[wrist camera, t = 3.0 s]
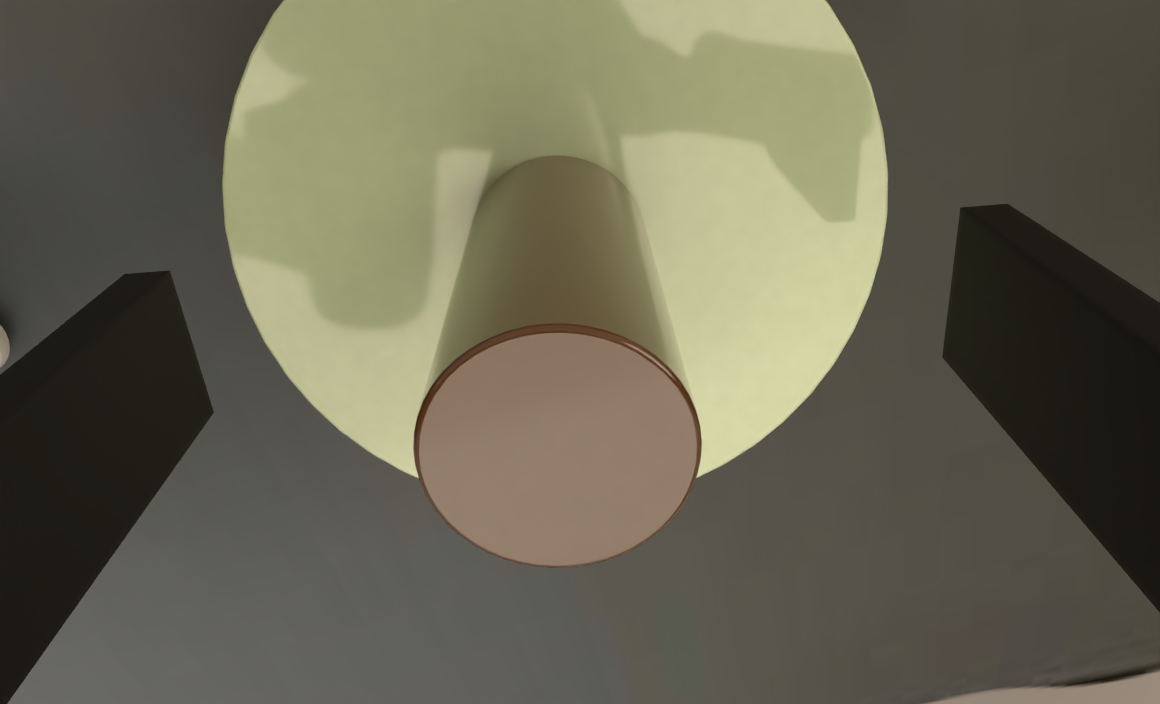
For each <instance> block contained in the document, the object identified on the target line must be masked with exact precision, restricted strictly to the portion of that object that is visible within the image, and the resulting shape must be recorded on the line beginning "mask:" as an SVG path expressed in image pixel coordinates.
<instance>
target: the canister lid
mask: <svg viewBox="0 0 1160 704" xmlns="http://www.w3.org/2000/svg"><path fill="white" fill-rule="evenodd" d="M222 192H223V207H224V222H225V230H226V235H227V239H228V244H229V249H230V254H231V259H232V264H233V268H234V271H235V274H236V277H237V280H238V283H239V286H240V288H241V291H242V294H243V297H244V300H245V303H246V306H247V308H248V310H249V312H250V314H251V316H252V318H253V320H254V322H255V324H256V326H257V328H258V330H259V332H260V334H261V336H262V338H263V340H264V342H265V344H266V345H267V347H268V348H269V350H270V351H271V353H272V354H273V356H274V357H275V359H276V360H277V362H278V363H279V365H280V366H281V368H282V369H283V371H284V372H285V374H286V375H287V376H288V378H289V379H290V380H291V381H292V382H293V383H294V385H295V386H296V387H297V388H298V389H299V390H300V392H301V393H302V394H303V395H304V396H305V397H306V399H307V400H308V401H309V402H310V403H311V404H312V406H314V407H315V408H316V409H317V410H318V411H319V412H320V413H321V414H322V415H323V416H324V417H325V418H327V419H328V420H329V421H330V422H331V423H332V424H333V425H334V426H335V427H336V428H337V429H339V430H340V431H341V432H342V433H344V434H345V435H346V436H348V437H349V438H350V439H352V440H353V441H355V442H356V443H357V444H359V445H360V446H361V447H363V448H364V449H366V450H367V451H368V452H370V453H371V454H373V455H374V456H376V457H378V458H380V459H382V460H383V461H385V462H387V463H389V464H390V465H392V466H394V467H396V468H397V469H399V470H401V471H403V472H405V473H407V474H409V475H412V476H414V477H416V478H419V481H420V483H421V485H422V487H423V490H424V492H425V494H426V496H427V498H428V499H429V501H430V503H431V504H432V506H433V507H434V509H435V511H436V512H437V513H438V514H439V515H440V517H441V518H442V519H443V520H444V521H445V523H446V524H447V525H449V526H450V527H451V528H452V529H453V530H454V531H455V532H456V533H457V534H458V535H460V536H461V537H463V538H464V539H465V540H467V541H468V542H469V543H471V544H473V545H474V546H476V547H478V548H480V549H482V550H483V551H485V552H487V553H490V554H492V555H494V556H497V557H499V558H502V559H505V560H508V561H512V562H515V563H519V564H524V565H530V566H535V567H547V568H569V567H578V566H586V565H591V564H595V563H599V562H603V561H606V560H609V559H612V558H615V557H618V556H621V555H623V554H625V553H627V552H629V551H631V550H633V549H635V548H637V547H638V546H640V545H642V544H643V543H645V542H646V541H648V540H650V539H651V538H652V537H653V536H655V535H656V534H657V533H658V532H660V531H661V530H662V529H663V528H664V527H665V526H666V525H667V524H668V523H669V522H670V521H671V520H672V519H673V518H674V516H675V515H676V514H677V512H678V511H679V510H680V508H681V507H682V506H683V504H684V502H685V501H686V499H687V497H688V495H689V493H690V492H691V490H692V487H693V485H694V482H695V479H696V478H698V477H700V476H702V475H704V474H706V473H708V472H710V471H712V470H714V469H716V468H718V467H720V466H722V465H724V464H726V463H727V462H729V461H730V460H732V459H733V458H735V457H737V456H738V455H740V454H741V453H743V452H744V451H746V450H748V449H749V448H751V447H752V446H754V445H755V444H757V443H758V442H759V441H760V440H761V439H763V438H764V437H765V436H766V435H768V434H769V433H770V432H771V431H773V430H774V429H775V428H776V427H778V426H779V425H780V424H781V423H783V422H784V421H785V420H786V419H787V418H788V417H789V416H790V415H791V414H792V413H793V412H794V411H795V410H796V409H797V408H798V407H799V406H800V404H801V403H802V402H803V401H804V400H805V399H806V398H807V397H808V396H809V395H810V394H811V393H812V392H813V390H814V389H815V388H816V387H817V385H818V384H819V383H820V381H821V380H822V379H823V377H824V376H825V375H826V374H827V372H828V371H829V370H830V368H831V367H832V366H833V364H834V363H835V361H836V360H837V358H838V356H839V355H840V353H841V351H842V350H843V348H844V346H845V344H846V343H847V341H848V339H849V338H850V336H851V334H852V333H853V331H854V329H855V327H856V324H857V322H858V320H859V318H860V315H861V313H862V311H863V308H864V306H865V304H866V301H867V299H868V297H869V294H870V291H871V288H872V284H873V281H874V278H875V274H876V271H877V267H878V264H879V260H880V257H881V252H882V246H883V239H884V233H885V226H886V219H887V207H888V167H887V158H886V150H885V142H884V134H883V127H882V123H881V120H880V116H879V112H878V109H877V105H876V101H875V97H874V94H873V90H872V86H871V84H870V81H869V79H868V77H867V74H866V72H865V70H864V67H863V65H862V63H861V60H860V58H859V56H858V53H857V51H856V49H855V46H854V44H853V42H852V41H851V39H850V37H849V36H848V34H847V32H846V31H845V29H844V27H843V26H842V24H841V23H840V21H839V19H838V18H837V16H836V14H835V13H834V11H833V9H832V8H831V6H830V5H829V3H828V2H827V1H826V0H283V1H282V2H281V4H280V5H279V6H278V7H277V9H276V10H275V11H274V13H273V14H272V16H271V18H270V20H269V22H268V23H267V25H266V27H265V29H264V31H263V32H262V34H261V36H260V38H259V40H258V41H257V43H256V45H255V47H254V49H253V50H252V52H251V54H250V57H249V59H248V62H247V65H246V67H245V70H244V73H243V75H242V78H241V81H240V83H239V86H238V89H237V91H236V94H235V97H234V101H233V106H232V111H231V115H230V120H229V124H228V129H227V134H226V138H225V148H224V162H223V176H222Z"/></svg>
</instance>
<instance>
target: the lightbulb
mask: <svg viewBox="0 0 1160 704" xmlns="http://www.w3.org/2000/svg"><path fill="white" fill-rule="evenodd" d="M9 352H10V345H9V340H8V337H7V334H6V332H5V331H4V329H3V327H2V326H1V325H0V368H1V367H2V366H3V365H4V363H5V362H6V361H7V359H8V356H9Z"/></svg>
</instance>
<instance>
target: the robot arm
mask: <svg viewBox="0 0 1160 704" xmlns="http://www.w3.org/2000/svg"><path fill="white" fill-rule="evenodd" d="M942 357H943V359H944V360H945V361H946V362H947V363H948V364H949V366H950V367H951V368H952V369H953V370H954V371H955V373H956V374H957V375H958V376H959V377H960V378H961V380H962V381H963V382H964V383H965V384H966V386H967V387H968V388H969V389H970V390H971V391H972V393H973V394H974V395H975V396H976V397H977V398H978V400H979V401H980V402H981V403H982V404H983V405H984V407H985V408H986V409H987V410H988V411H989V413H990V414H991V415H992V416H993V417H994V418H995V420H996V421H997V422H998V423H999V424H1000V425H1001V427H1002V428H1003V429H1004V430H1005V431H1006V432H1007V434H1008V435H1009V436H1010V437H1011V438H1012V439H1013V441H1014V442H1015V443H1016V444H1017V445H1018V447H1019V448H1020V449H1021V450H1022V451H1023V452H1024V454H1025V455H1026V456H1027V457H1028V458H1029V459H1030V461H1031V462H1032V463H1033V464H1034V465H1035V466H1036V468H1037V469H1038V470H1039V471H1040V472H1041V473H1042V475H1043V476H1044V477H1045V478H1046V479H1047V481H1048V482H1049V483H1050V484H1051V485H1052V486H1053V488H1054V489H1055V490H1056V491H1057V492H1058V493H1059V495H1060V496H1061V497H1062V498H1063V499H1064V500H1065V502H1066V503H1067V504H1068V505H1069V506H1070V508H1071V509H1072V510H1073V511H1074V512H1075V513H1076V515H1077V516H1078V517H1079V518H1080V519H1081V520H1082V522H1083V523H1084V524H1085V525H1086V526H1087V527H1088V529H1089V530H1090V531H1091V532H1092V533H1093V534H1094V536H1095V537H1096V538H1097V539H1098V540H1099V542H1100V543H1101V544H1102V545H1103V546H1104V547H1105V549H1106V550H1107V551H1108V552H1109V553H1110V554H1111V556H1112V557H1113V558H1114V559H1115V560H1116V561H1117V563H1118V564H1119V565H1120V566H1121V567H1122V568H1123V570H1124V571H1125V572H1126V573H1127V574H1128V576H1129V577H1130V578H1131V579H1132V580H1133V581H1134V583H1135V584H1136V585H1137V586H1138V587H1139V588H1140V590H1141V591H1142V592H1143V593H1144V594H1145V595H1146V597H1147V598H1148V599H1149V600H1150V601H1151V603H1152V604H1153V605H1154V606H1155V607H1156V608H1157V610H1158V611H1159V612H1160V303H1159V302H1157V301H1156V300H1154V299H1153V298H1151V297H1150V296H1148V295H1147V294H1145V293H1144V292H1142V291H1141V290H1139V289H1137V288H1136V287H1134V286H1133V285H1131V284H1130V283H1128V282H1127V281H1125V280H1124V279H1122V278H1121V277H1119V276H1118V275H1116V274H1114V273H1113V272H1111V271H1110V270H1108V269H1107V268H1105V267H1104V266H1102V265H1101V264H1099V263H1098V262H1096V261H1095V260H1093V259H1091V258H1090V257H1088V256H1087V255H1085V254H1084V253H1082V252H1081V251H1079V250H1078V249H1076V248H1075V247H1073V246H1072V245H1070V244H1068V243H1067V242H1065V241H1064V240H1062V239H1061V238H1059V237H1058V236H1056V235H1055V234H1053V233H1052V232H1050V231H1049V230H1047V229H1045V228H1044V227H1042V226H1041V225H1039V224H1038V223H1036V222H1035V221H1033V220H1032V219H1030V218H1029V217H1027V216H1026V215H1024V214H1022V213H1021V212H1019V211H1018V210H1016V209H1015V208H1013V207H1012V206H1010V205H1009V204H1000V205H988V206H975V207H963V208H960V217H959V225H958V233H957V241H956V249H955V258H954V266H953V274H952V282H951V290H950V299H949V307H948V315H947V323H946V332H945V340H944V348H943V356H942ZM213 413H214V412H213V408H212V405H211V402H210V399H209V395H208V392H207V389H206V386H205V382H204V379H203V376H202V373H201V370H200V366H199V363H198V360H197V357H196V353H195V350H194V347H193V344H192V341H191V337H190V334H189V331H188V328H187V324H186V321H185V318H184V315H183V312H182V308H181V305H180V302H179V299H178V295H177V292H176V289H175V286H174V283H173V279H172V276H171V273H170V271H158V272H145V273H132V274H124V275H123V276H122V277H120V278H119V279H118V280H117V281H116V282H114V283H113V284H112V285H111V286H109V287H108V288H107V289H106V290H104V291H103V292H102V293H101V294H99V295H98V296H97V297H96V298H95V299H93V300H92V301H91V302H90V303H88V304H87V305H86V306H85V307H83V308H82V309H81V310H80V311H79V312H77V313H76V314H75V315H74V316H72V317H71V318H70V319H69V320H67V321H66V322H65V323H64V324H63V325H61V326H60V327H59V328H58V329H56V330H55V331H54V332H53V333H51V334H50V335H49V336H48V337H46V338H45V339H44V340H43V341H42V342H40V343H39V344H38V345H37V346H35V347H34V348H33V349H32V350H30V351H29V352H28V353H27V354H26V355H24V356H23V357H22V358H21V359H19V360H18V361H17V362H16V363H14V364H13V365H12V366H11V367H10V368H8V369H7V370H6V371H5V372H3V373H2V374H1V375H0V704H7V703H8V702H9V700H10V699H11V697H12V696H13V695H14V693H15V692H16V690H17V689H18V688H19V686H20V685H21V683H22V682H23V681H24V679H25V678H26V676H27V675H28V673H29V672H30V671H31V669H32V668H33V666H34V665H35V664H36V662H37V661H38V659H39V658H40V657H41V655H42V654H43V652H44V651H45V650H46V648H47V647H48V645H49V644H50V642H51V641H52V640H53V638H54V637H55V635H56V634H57V633H58V631H59V630H60V628H61V627H62V626H63V624H64V623H65V621H66V620H67V619H68V617H69V616H70V614H71V613H72V611H73V610H74V609H75V607H76V606H77V604H78V603H79V602H80V600H81V599H82V597H83V596H84V595H85V593H86V592H87V590H88V589H89V588H90V586H91V585H92V583H93V582H94V580H95V579H96V578H97V576H98V575H99V573H100V572H101V571H102V569H103V568H104V566H105V565H106V564H107V562H108V561H109V559H110V558H111V557H112V555H113V554H114V552H115V551H116V549H117V548H118V547H119V545H120V544H121V542H122V541H123V540H124V538H125V537H126V535H127V534H128V533H129V531H130V530H131V528H132V527H133V526H134V524H135V523H136V521H137V520H138V518H139V517H140V516H141V514H142V513H143V511H144V510H145V509H146V507H147V506H148V504H149V503H150V502H151V500H152V499H153V497H154V496H155V495H156V493H157V492H158V490H159V489H160V487H161V486H162V485H163V483H164V482H165V480H166V479H167V478H168V476H169V475H170V473H171V472H172V471H173V469H174V468H175V466H176V465H177V464H178V462H179V461H180V459H181V458H182V456H183V455H184V454H185V452H186V451H187V449H188V448H189V447H190V445H191V444H192V442H193V441H194V440H195V438H196V437H197V435H198V434H199V433H200V431H201V430H202V428H203V427H204V425H205V424H206V423H207V421H208V420H209V418H210V417H211V416H212V414H213Z"/></svg>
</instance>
